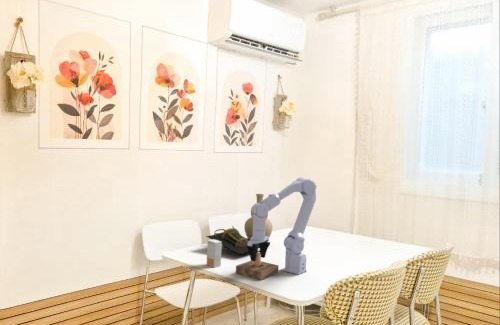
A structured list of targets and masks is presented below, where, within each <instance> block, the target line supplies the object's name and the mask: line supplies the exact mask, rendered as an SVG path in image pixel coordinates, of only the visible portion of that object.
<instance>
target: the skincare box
mask: <svg viewBox="0 0 500 325" xmlns="http://www.w3.org/2000/svg"><path fill="white" fill-rule="evenodd" d="M206 247H207V249H206V250H207V251H206V265H207V266H210V267H211V268H219V267H221V265H222V248H223V246H222V242H221V241H218V240H215V239H213V240H212V239H208V240H207V246H206Z"/></svg>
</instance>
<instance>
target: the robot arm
mask: <svg viewBox="0 0 500 325" xmlns="http://www.w3.org/2000/svg"><path fill="white" fill-rule="evenodd" d="M316 189H317V185H316V182H315V181H314V180H313V179H310V178H308V179H307V178H304V177H298V178H296V179H295V180H293V181H292V182H290V184H288V185H287V186H285V187H284V188H283V189H282V190H281V191H279V192H278V193H272V194H271V193H269V194H268V195H267V197H265V198H263V200H261V201H260V203H257V202H256V203H254V204H253V205H252V206H253V208H252V207H251V208H252V209H251V208H250V211H251V210H252V213H253V214H254V215H253V237H252V238H251V240H250V241H248V244H247V245H246V247H247V249H248V251H247V252H248V253H249V257H250V261H255V260H256V254H257V253H258V250H259V253H261V259H262V258H263V259H265V258H266V255H267V252H268V249H269V247H270V245H271V242H270V237H267V236H265V225H266V215H267V214H268V215H269V213H270V211H272V210H273V209H274V208H276V207H278V206H279V205H280V204H281V200H284V199H285V198H287V197H288V196H291V195H292V194H294V193H300V194H301V197H302V199H303V201H302V203H301V206H300V208H299V211H298V214H297V216H296V220H295V223H294V225H293V228H292V229H291V231H289V232H288V234H287V236H286V237H285V238H284V240H283V245H284V247H285V257H284V258H285V262H284V267H283V268H281V271H283V272H286V273H291V274H294V275H301V274H303V273H305V272H307V256H306V254H305V253H302V252H303V250H304V248H305V244H304V243H305V241H306V240H305V239H306V238H305V235H304V233H305V232H306V231H305V230H306V228H307V226H308V222H309V220H310V218H311V214H312V211H313V209H314V207H315V206H314V205H315V202H316V201H317V200H316V199H317V193H316V192H317V191H316ZM255 244H259V247H260V248H259V247H257V246H256V245H255Z"/></svg>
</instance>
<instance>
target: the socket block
mask: <svg viewBox="0 0 500 325" xmlns="http://www.w3.org/2000/svg"><path fill="white" fill-rule="evenodd" d="M278 273H279V265H278V264H274V263H270V262H266V261H261V266H260V267H259V268H258V267H254V261H251V260H248V261H246V262H242V263H240V264H237V265H235V274H237V275H241V276H244V277H248V278H252V279H256V280H259V281H263V280H266V279H268V278H270V277H272V276H274V275H277V274H278Z"/></svg>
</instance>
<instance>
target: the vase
mask: <svg viewBox="0 0 500 325" xmlns="http://www.w3.org/2000/svg"><path fill="white" fill-rule="evenodd" d="M255 195H256V203H260V201H261V200H264V196H265V194H263V193H256V194H255ZM252 208H253V205H252V206H251V208H250V217H249V218H248V219H247V220H245V222H244V232H245V235H246V238H247V239H249V240H251V238H252V237H253V215H254V214H253V213H252V210H251V209H252ZM268 216H269V213H268V214H267V215H266V225H265V236H267V237H269V238H270V237H271V235H272V232H273V222H272V221H271V219H269V218H268Z"/></svg>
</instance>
